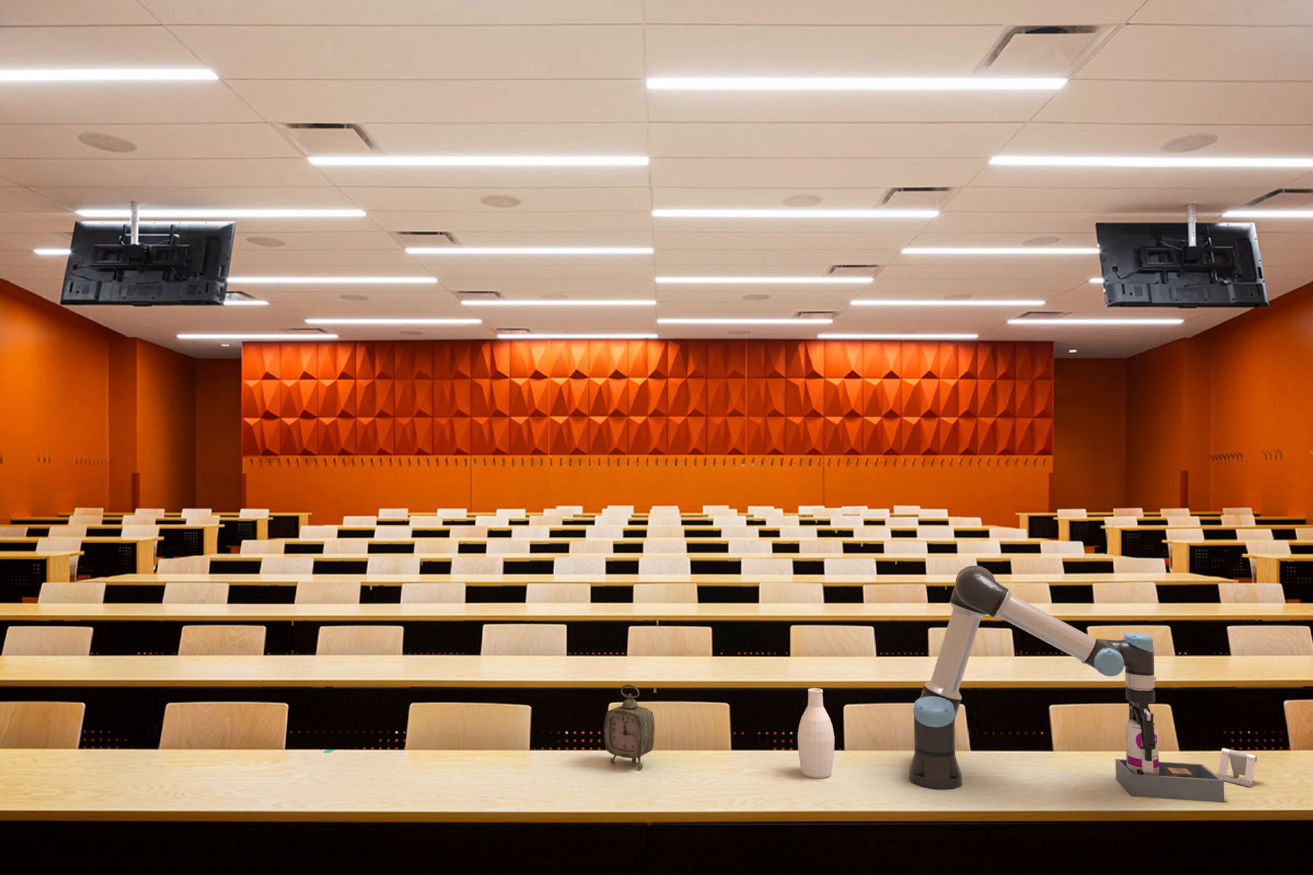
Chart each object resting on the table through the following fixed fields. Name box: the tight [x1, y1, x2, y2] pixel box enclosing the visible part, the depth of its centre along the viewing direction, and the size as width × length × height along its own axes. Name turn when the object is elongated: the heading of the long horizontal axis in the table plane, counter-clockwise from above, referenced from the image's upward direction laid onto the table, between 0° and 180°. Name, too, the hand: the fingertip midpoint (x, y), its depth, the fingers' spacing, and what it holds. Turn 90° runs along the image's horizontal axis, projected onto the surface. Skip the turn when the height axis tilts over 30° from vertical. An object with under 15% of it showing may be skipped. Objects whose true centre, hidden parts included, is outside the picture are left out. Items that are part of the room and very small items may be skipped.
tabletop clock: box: [603, 684, 656, 770], centre depth 274 cm, size 14×9×25 cm, turn 58°
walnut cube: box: [1167, 768, 1193, 778], centre depth 248 cm, size 5×5×5 cm
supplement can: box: [1125, 719, 1160, 776], centre depth 251 cm, size 8×8×15 cm
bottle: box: [797, 687, 835, 779], centre depth 265 cm, size 11×11×25 cm
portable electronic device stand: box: [1215, 747, 1258, 788], centre depth 257 cm, size 9×8×8 cm
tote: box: [1114, 758, 1225, 803], centre depth 250 cm, size 24×15×6 cm, turn 78°
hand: (1142, 766), depth 251 cm, fingers closed on supplement can, 8 cm apart
